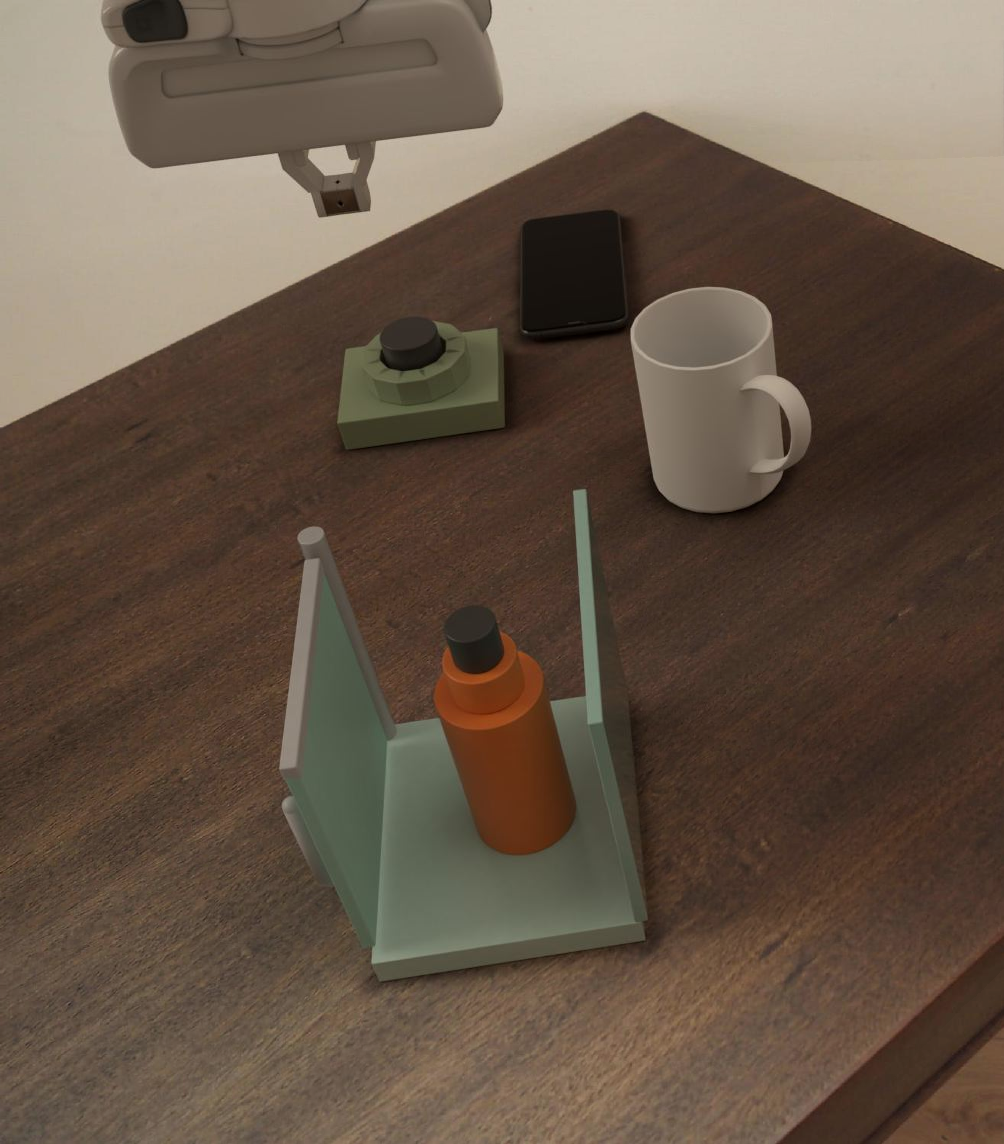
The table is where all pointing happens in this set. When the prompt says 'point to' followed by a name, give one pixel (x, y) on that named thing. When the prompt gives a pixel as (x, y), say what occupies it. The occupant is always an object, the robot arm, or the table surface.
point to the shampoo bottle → (502, 736)
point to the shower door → (334, 758)
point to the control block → (423, 391)
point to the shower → (450, 839)
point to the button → (411, 343)
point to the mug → (714, 399)
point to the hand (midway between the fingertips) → (345, 209)
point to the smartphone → (572, 275)
